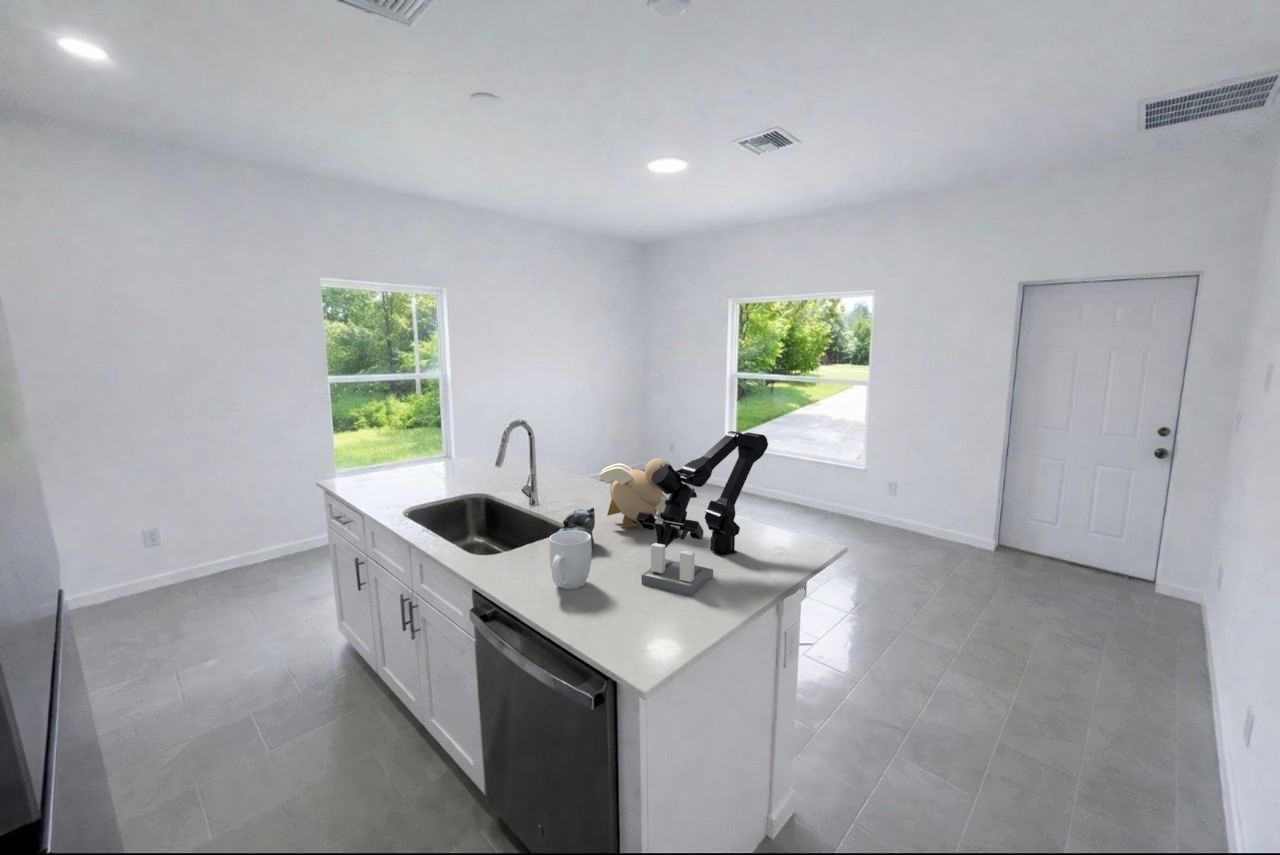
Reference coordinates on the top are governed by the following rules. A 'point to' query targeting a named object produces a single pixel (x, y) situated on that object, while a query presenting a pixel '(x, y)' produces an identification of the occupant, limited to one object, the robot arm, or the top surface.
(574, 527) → the lucky cat figurine
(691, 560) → the block
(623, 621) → the top surface
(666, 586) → the breaker panel
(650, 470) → the chick figurine
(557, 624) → the top surface
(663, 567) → the block
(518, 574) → the top surface
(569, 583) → the mug
